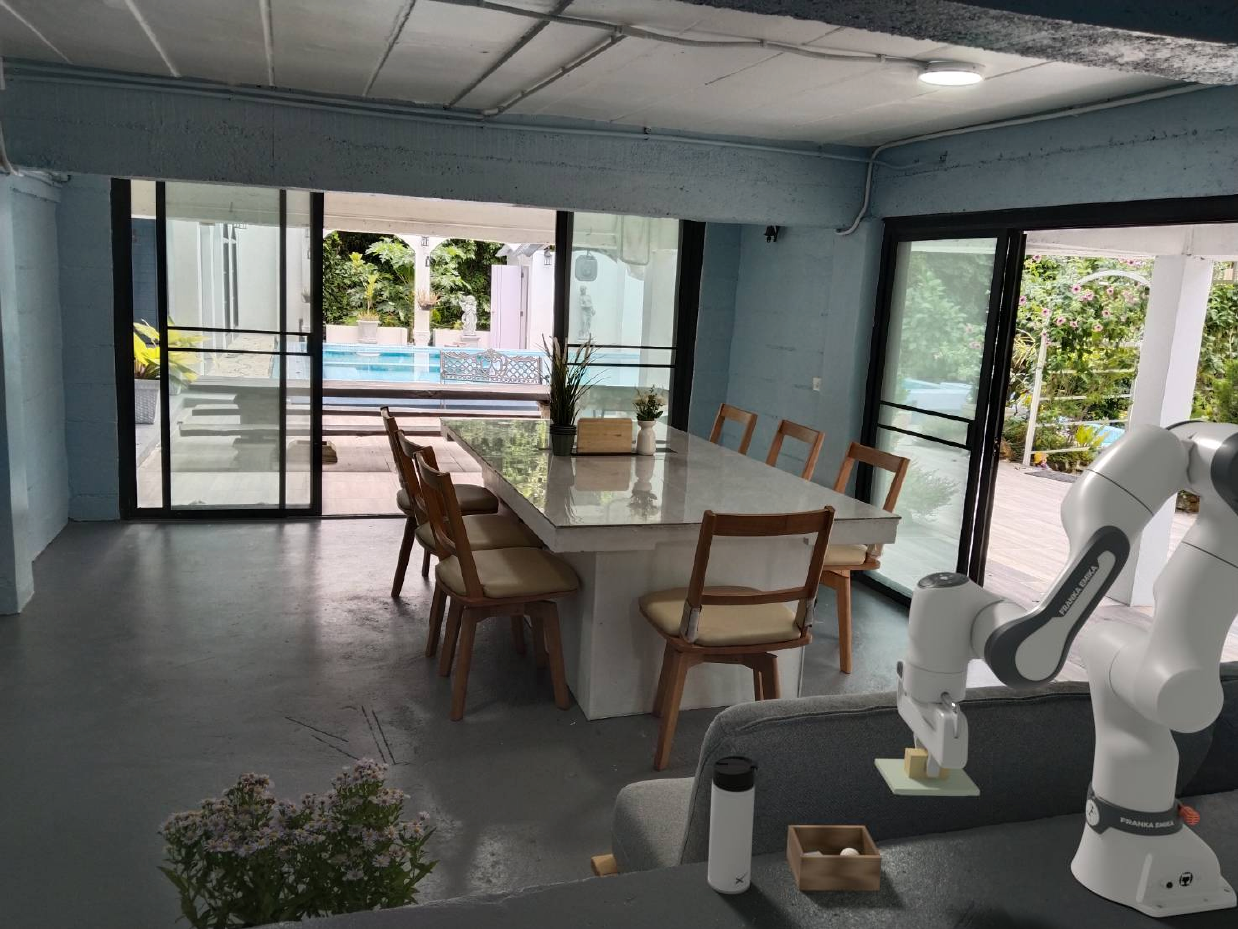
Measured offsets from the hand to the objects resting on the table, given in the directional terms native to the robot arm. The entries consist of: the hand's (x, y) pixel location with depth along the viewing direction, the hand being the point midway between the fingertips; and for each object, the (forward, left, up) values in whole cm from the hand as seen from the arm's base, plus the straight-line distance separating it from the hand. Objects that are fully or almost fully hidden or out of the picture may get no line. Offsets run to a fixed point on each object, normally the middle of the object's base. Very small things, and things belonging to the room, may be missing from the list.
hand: (926, 768), depth 146 cm
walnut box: (+13, 0, -18) cm, 22 cm away
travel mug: (+29, +2, -18) cm, 35 cm away
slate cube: (+16, +1, -17) cm, 24 cm away
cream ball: (+10, -1, -17) cm, 20 cm away
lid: (0, 0, -2) cm, 2 cm away
